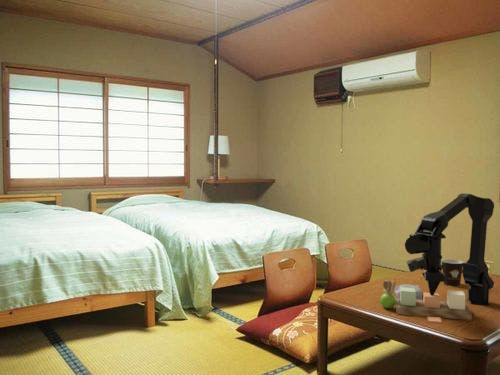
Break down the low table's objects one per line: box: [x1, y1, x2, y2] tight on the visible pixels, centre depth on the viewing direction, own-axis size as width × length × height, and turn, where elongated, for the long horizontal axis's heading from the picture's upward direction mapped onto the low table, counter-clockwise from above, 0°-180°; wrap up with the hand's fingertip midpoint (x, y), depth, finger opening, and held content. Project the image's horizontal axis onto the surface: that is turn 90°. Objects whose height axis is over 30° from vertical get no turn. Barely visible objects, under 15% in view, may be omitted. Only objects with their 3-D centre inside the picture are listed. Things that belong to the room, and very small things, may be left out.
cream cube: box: [446, 289, 466, 310], centre depth 156 cm, size 5×5×5 cm
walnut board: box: [394, 297, 473, 321], centre depth 159 cm, size 24×11×2 cm, turn 74°
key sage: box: [400, 287, 416, 306], centre depth 160 cm, size 5×5×5 cm
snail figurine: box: [379, 277, 397, 309], centre depth 162 cm, size 5×6×12 cm
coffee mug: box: [441, 258, 464, 287], centre depth 195 cm, size 12×9×10 cm
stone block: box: [394, 283, 423, 300], centre depth 178 cm, size 12×5×10 cm
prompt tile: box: [427, 316, 443, 324], centre depth 150 cm, size 4×4×1 cm
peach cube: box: [422, 291, 441, 308], centre depth 158 cm, size 5×5×5 cm
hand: (431, 294), depth 158 cm, fingers closed, pressing on peach cube
